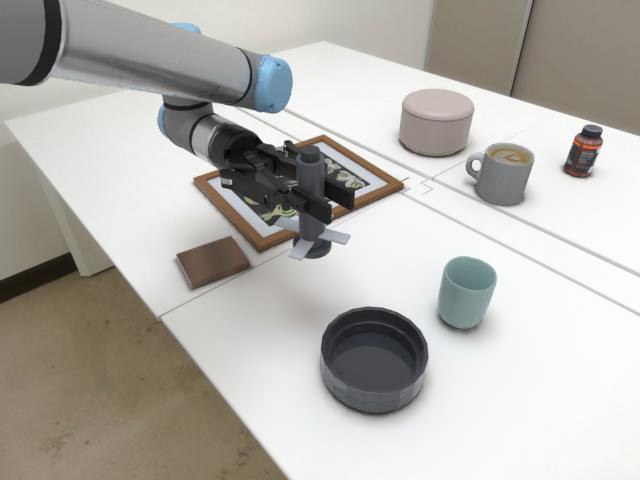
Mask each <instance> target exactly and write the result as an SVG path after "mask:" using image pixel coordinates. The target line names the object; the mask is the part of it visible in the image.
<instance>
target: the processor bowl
mask: <svg viewBox="0 0 640 480" xmlns="http://www.w3.org/2000/svg"><path fill="white" fill-rule="evenodd" d="M321 335H322V336H321V343H320V370H321V374H322V378H323V381H324V383H325V385H326V386H327V388H328V389H329V391H330V392H331V394H332V395H333V396H334V397H336V398H337V399H338V400H340V401H341V402H342V403H344V404H345V405H346V406H348V407H351V408H353V409H355V410H358V411H361V412H367V413H369V412H370V413H376V414H377V413H379V414H381V413H386V412H391V411H395V410H396V411H397V410H399V409H400V408H402V407H403V406H405V405H408V404H409V403H410V402H412V401H413V399H415V398H416V396H417V395H418V393H419V392H420V391H421V389H422V386H423V382H424V379H425V376H426V371H427V366H428V363H429V360H430V359H429V358H430V355H429V347H428V345H429V344H428V341H427V340H426V337H425V336H424V334H423V332H422V330H421V329H420V328H419V327H418V326H417V324H415V323H414V321H412V319H410V318H409V317H407V316H405V315H403V314H402V313H400V312H398V311H395V310H392V309H389V308H386V307H382V306H369V305H368V306H360V307H355V308H351V309H348V310H346V311H344V312H342V313H340V314H338V315H337V316H336V317H334V319H332V320H331V321H330V322H329V323H328V325H327V326H326V328H325V330H324V332H323V334H321Z"/></svg>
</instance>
